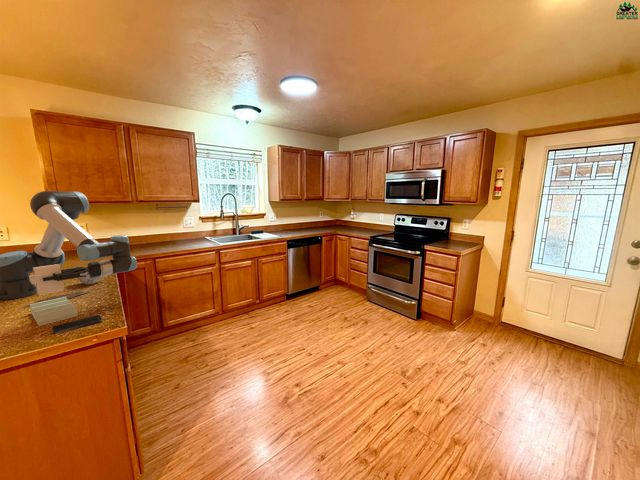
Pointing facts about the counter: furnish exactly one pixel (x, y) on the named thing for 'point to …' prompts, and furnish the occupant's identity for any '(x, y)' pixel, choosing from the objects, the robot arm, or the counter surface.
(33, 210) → the robot arm
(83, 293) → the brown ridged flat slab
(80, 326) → the phone
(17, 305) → the counter surface
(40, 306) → the slotted rack base
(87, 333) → the counter surface
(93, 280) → the teacup
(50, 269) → the beige rectangular block
